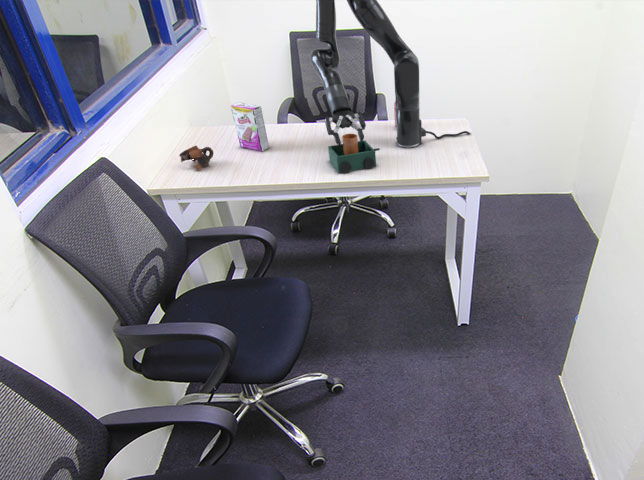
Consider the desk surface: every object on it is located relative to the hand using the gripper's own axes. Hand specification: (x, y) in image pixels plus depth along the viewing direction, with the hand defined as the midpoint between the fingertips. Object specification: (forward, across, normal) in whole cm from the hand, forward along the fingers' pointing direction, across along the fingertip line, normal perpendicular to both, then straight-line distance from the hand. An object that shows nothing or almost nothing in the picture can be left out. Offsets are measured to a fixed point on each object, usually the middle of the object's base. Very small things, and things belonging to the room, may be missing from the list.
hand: (350, 142), depth 187 cm
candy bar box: (-17, -31, +28) cm, 45 cm away
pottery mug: (-11, -53, +22) cm, 58 cm away
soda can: (-14, +32, +26) cm, 43 cm away
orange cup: (+5, 0, +5) cm, 7 cm away
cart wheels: (+6, +2, +6) cm, 8 cm away
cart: (+6, 0, +6) cm, 8 cm away
